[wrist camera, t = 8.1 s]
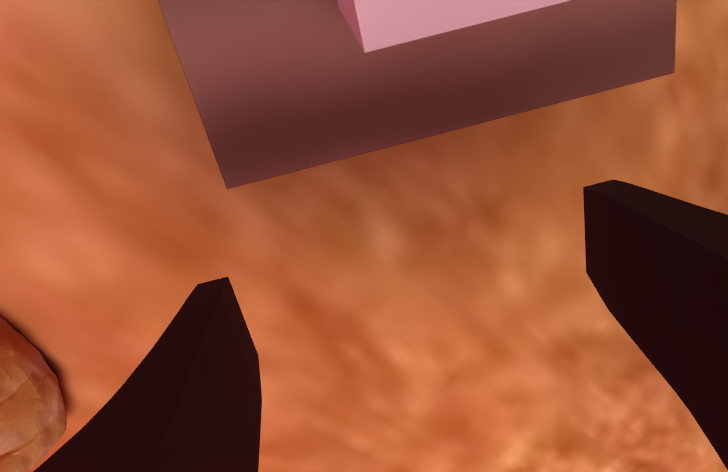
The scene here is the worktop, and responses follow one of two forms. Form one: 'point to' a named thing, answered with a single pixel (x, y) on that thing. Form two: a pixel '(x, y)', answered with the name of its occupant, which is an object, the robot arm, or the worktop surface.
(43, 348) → the worktop surface
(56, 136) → the worktop surface
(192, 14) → the base
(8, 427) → the pastry
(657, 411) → the worktop surface
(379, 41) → the cube
